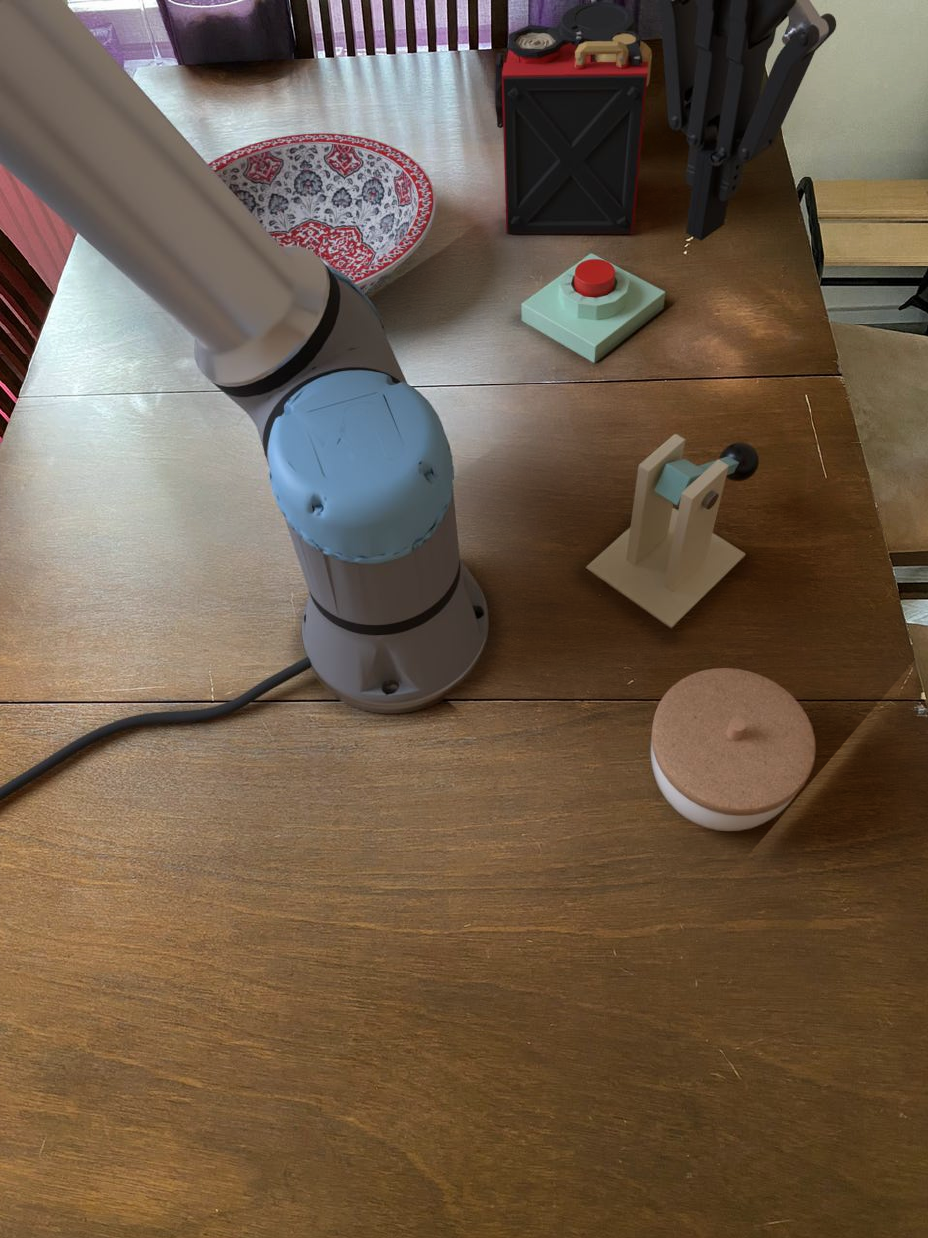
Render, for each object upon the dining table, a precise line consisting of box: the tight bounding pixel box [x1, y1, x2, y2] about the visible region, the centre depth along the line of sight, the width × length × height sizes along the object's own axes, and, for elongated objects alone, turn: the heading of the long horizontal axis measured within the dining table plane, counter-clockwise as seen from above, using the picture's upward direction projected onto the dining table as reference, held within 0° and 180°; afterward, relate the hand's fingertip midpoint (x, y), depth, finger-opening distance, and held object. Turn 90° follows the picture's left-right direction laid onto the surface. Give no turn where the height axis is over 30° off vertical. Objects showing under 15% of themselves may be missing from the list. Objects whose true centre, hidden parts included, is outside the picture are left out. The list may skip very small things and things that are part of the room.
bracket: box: [585, 433, 746, 629], centre depth 77 cm, size 10×9×13 cm
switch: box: [654, 441, 760, 506], centre depth 77 cm, size 13×3×3 cm, turn 135°
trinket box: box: [650, 667, 817, 832], centre depth 67 cm, size 11×11×9 cm
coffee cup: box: [555, 1, 641, 62], centre depth 112 cm, size 9×9×15 cm
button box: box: [520, 252, 666, 364], centre depth 99 cm, size 11×10×4 cm
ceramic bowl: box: [207, 132, 437, 295], centre depth 104 cm, size 29×29×8 cm
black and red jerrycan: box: [493, 24, 653, 235], centre depth 103 cm, size 16×10×20 cm, turn 84°
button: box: [574, 259, 615, 298], centre depth 97 cm, size 4×4×2 cm
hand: (704, 228), depth 75 cm, fingers closed
